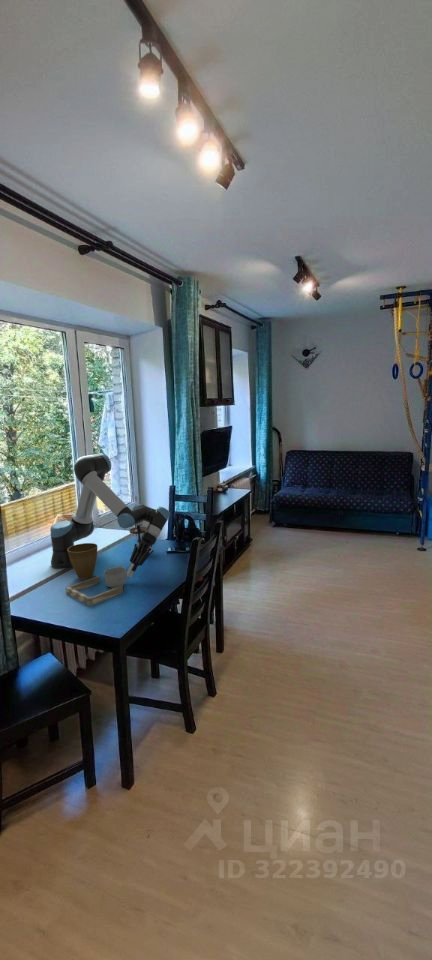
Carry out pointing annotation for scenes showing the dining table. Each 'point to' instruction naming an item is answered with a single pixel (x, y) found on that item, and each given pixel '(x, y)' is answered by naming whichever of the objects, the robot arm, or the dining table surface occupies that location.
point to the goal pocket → (95, 599)
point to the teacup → (115, 576)
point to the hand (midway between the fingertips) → (128, 576)
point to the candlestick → (138, 528)
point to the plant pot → (83, 559)
